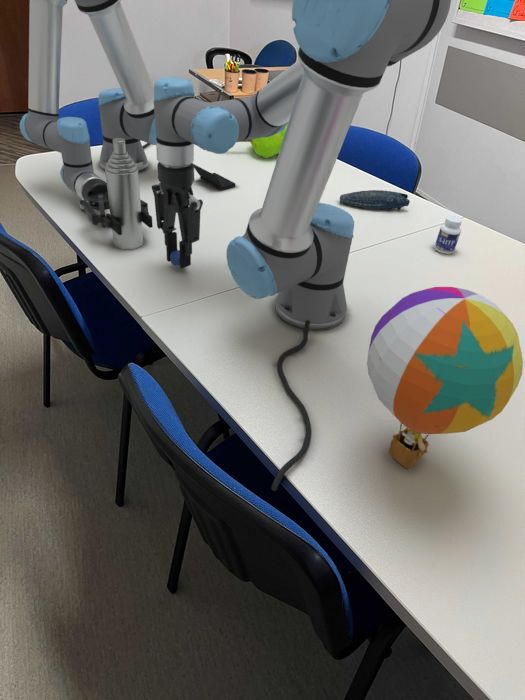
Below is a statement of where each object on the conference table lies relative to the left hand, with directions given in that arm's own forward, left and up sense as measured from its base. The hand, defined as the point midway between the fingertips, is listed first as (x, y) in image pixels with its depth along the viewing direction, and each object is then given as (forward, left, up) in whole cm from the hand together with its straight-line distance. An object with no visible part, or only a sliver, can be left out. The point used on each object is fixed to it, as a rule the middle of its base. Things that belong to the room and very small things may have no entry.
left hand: (135, 225), depth 124 cm
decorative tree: (-70, +46, -7) cm, 84 cm away
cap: (+10, +9, -3) cm, 14 cm away
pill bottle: (+7, +81, -7) cm, 81 cm away
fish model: (-22, +72, -7) cm, 75 cm away
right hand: (+10, +9, -5) cm, 14 cm away
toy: (+72, +38, -7) cm, 82 cm away
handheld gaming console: (-42, +25, -7) cm, 49 cm away
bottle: (-4, -2, -7) cm, 8 cm away
